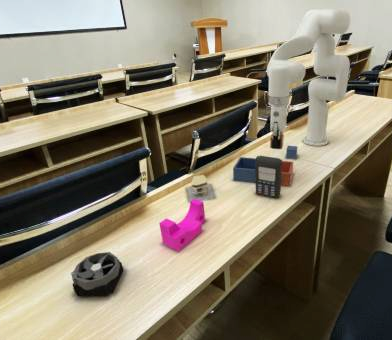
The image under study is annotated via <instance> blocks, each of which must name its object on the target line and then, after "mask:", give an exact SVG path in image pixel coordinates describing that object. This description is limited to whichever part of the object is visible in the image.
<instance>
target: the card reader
mask: <svg viewBox="0 0 392 340" xmlns="http://www.w3.org/2000/svg"><path fill="white" fill-rule="evenodd" d="M255 158H256V159H255V183H254V185H255V194H257V195H258V196H263V197H269V198H273V199H279V198H280V196H281V192H282V191H281V189H282V186H281V174H282V161H283V159H281V158H280V157H272V156H267V155H257V156H256V157H255Z"/></svg>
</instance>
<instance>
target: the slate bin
mask: <svg viewBox="0 0 392 340" xmlns="http://www.w3.org/2000/svg"><path fill="white" fill-rule="evenodd" d="M255 159H256V157H242V156H239V158H238V160H237V161H236V162H235V164H234V166H233V168H232V173H233V174H232V175H233V176H232V177H233V178H232V179H233V181H235V182H242V183H243V182H244V183H254V184H255Z"/></svg>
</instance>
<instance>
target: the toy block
mask: <svg viewBox="0 0 392 340" xmlns="http://www.w3.org/2000/svg"><path fill="white" fill-rule="evenodd" d="M205 222H206V213H205V203H204V201H203V200H197V199H193V200H192V201H190V202H189V207H188V210H187V213H186V215H185V216H184V217H183V219H182V220H181V221H179V222H178V223H176V221H174V220H171V219H169V218H164V219H163V220H161V221H160V222H159V223H158V224H159V230H160V233H161V234H160V235H161V240H162V244H163V245H164V246H167V247H169V248H171V249H173V250H175V251H177V252H180V251H181V250H182V249H183V248H185V246H187V245H188V244H189V243H191V241H193V240H194V239H196V238H197V236H199V235H200V234H201V233H202V232H203V228H202V227H203V226H202V225H203V224H204V223H205Z"/></svg>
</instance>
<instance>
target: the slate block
mask: <svg viewBox="0 0 392 340" xmlns="http://www.w3.org/2000/svg"><path fill="white" fill-rule="evenodd" d="M285 155H286V156H285V158H286V159H288V160H289V159H291V160H297V157H298V146H296V145H287V147H286V153H285Z"/></svg>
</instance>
